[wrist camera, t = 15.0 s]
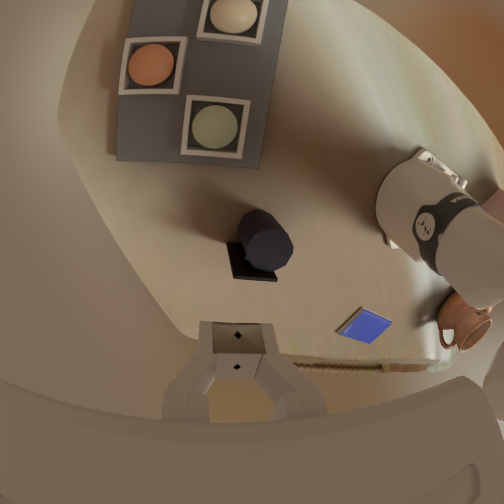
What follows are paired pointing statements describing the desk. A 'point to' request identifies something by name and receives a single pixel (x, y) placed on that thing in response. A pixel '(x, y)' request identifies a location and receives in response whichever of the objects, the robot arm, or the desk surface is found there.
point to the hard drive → (365, 326)
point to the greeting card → (495, 206)
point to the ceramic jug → (462, 323)
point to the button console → (198, 82)
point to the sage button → (214, 126)
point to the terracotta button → (151, 65)
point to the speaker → (259, 248)
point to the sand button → (233, 16)
